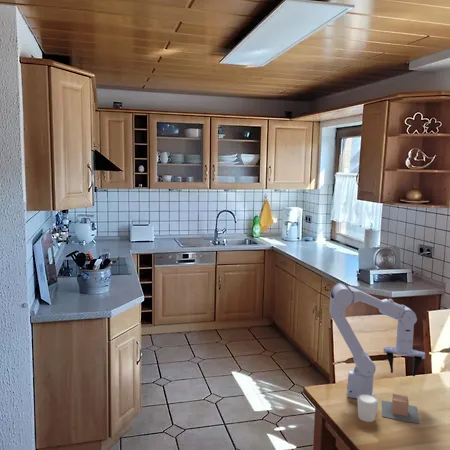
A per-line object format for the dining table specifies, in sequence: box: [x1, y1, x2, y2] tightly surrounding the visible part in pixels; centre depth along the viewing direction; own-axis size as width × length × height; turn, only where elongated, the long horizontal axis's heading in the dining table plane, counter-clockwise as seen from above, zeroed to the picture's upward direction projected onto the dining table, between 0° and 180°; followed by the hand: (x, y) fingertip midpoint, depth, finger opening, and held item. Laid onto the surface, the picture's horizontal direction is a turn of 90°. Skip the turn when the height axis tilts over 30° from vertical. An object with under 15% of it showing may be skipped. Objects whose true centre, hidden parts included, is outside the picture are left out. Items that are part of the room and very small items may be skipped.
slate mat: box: [381, 400, 420, 425], centre depth 154 cm, size 12×12×1 cm
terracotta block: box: [391, 393, 410, 416], centre depth 154 cm, size 5×5×5 cm
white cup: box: [356, 394, 379, 423], centre depth 150 cm, size 7×7×7 cm
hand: (402, 373), depth 164 cm, fingers open, 7 cm apart
